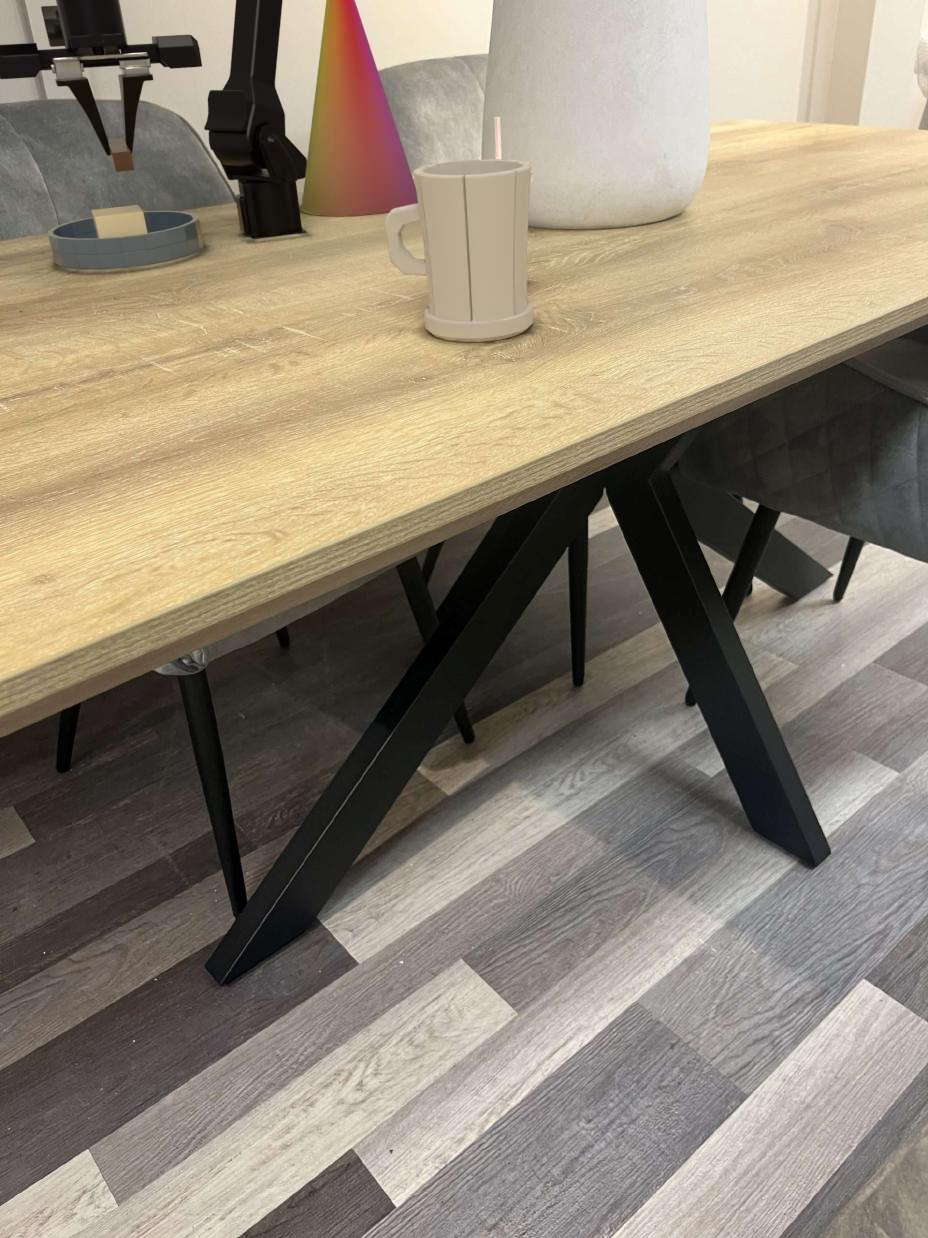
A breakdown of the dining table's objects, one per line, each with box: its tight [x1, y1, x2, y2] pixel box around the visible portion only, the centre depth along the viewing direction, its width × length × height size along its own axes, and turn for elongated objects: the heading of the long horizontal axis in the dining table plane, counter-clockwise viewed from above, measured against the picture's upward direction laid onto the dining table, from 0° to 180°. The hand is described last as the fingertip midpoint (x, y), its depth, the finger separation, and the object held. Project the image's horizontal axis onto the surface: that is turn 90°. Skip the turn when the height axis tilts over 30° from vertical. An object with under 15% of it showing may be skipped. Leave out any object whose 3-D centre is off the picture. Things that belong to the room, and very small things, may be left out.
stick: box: [108, 137, 135, 173], centre depth 101 cm, size 9×2×2 cm, turn 21°
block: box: [91, 204, 148, 238], centre depth 107 cm, size 5×5×5 cm
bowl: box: [47, 210, 205, 271], centre depth 111 cm, size 16×16×4 cm
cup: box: [383, 158, 534, 343], centre depth 77 cm, size 10×9×12 cm
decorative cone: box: [300, 0, 418, 217], centre depth 126 cm, size 16×16×30 cm
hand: (119, 154), depth 101 cm, fingers closed on stick, 2 cm apart
